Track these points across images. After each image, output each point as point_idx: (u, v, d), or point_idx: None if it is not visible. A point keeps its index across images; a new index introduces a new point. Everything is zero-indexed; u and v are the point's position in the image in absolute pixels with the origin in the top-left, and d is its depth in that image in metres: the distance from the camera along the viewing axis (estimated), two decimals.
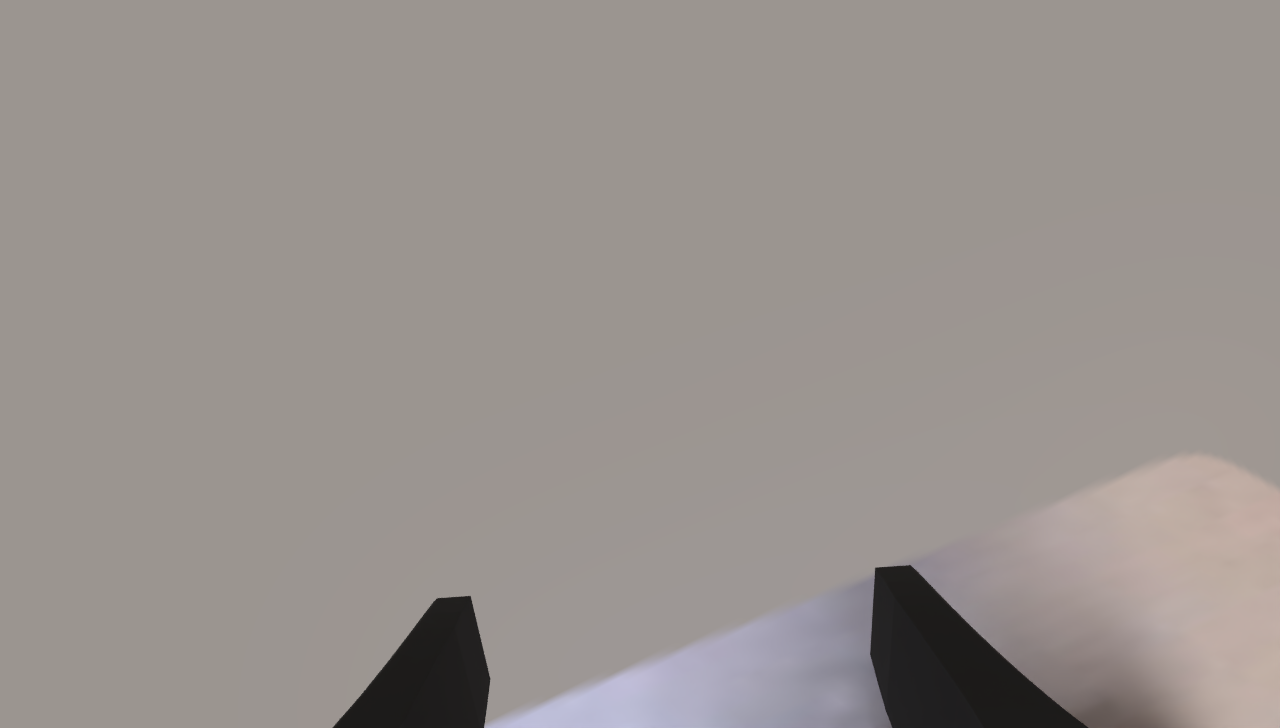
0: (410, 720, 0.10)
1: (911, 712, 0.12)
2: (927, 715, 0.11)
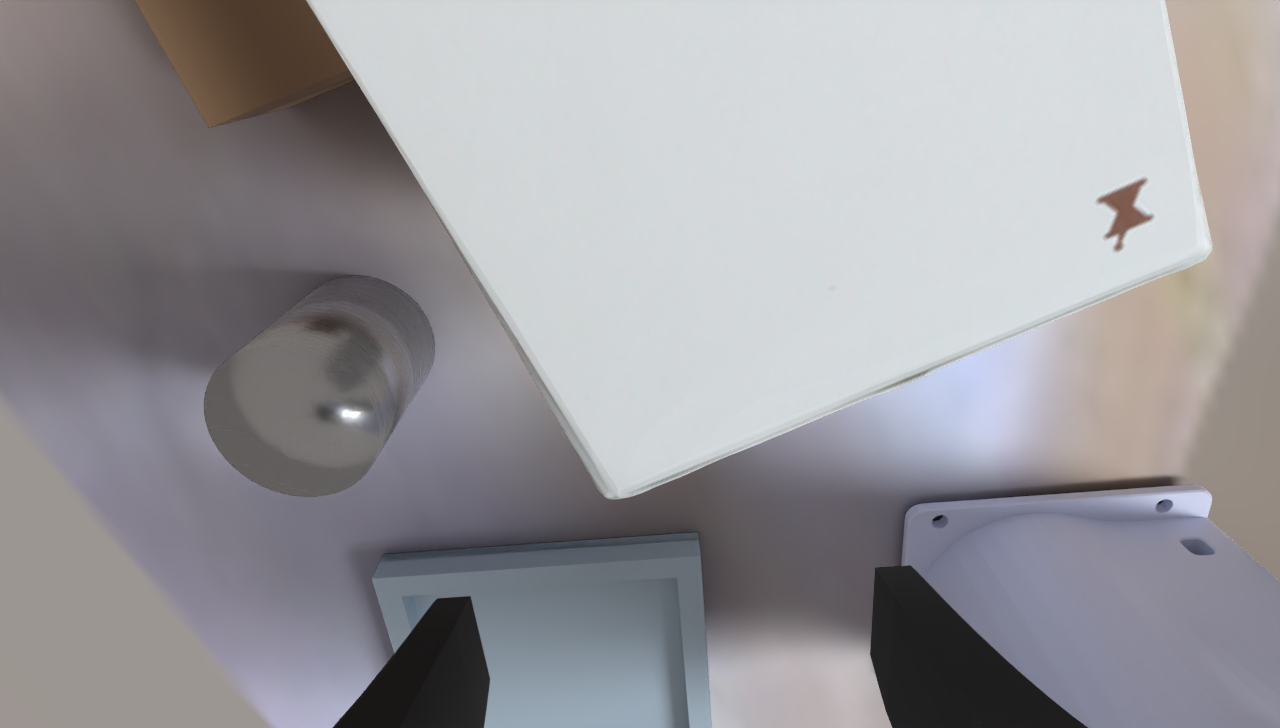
0: (410, 720, 0.10)
1: (911, 712, 0.12)
2: (927, 715, 0.11)
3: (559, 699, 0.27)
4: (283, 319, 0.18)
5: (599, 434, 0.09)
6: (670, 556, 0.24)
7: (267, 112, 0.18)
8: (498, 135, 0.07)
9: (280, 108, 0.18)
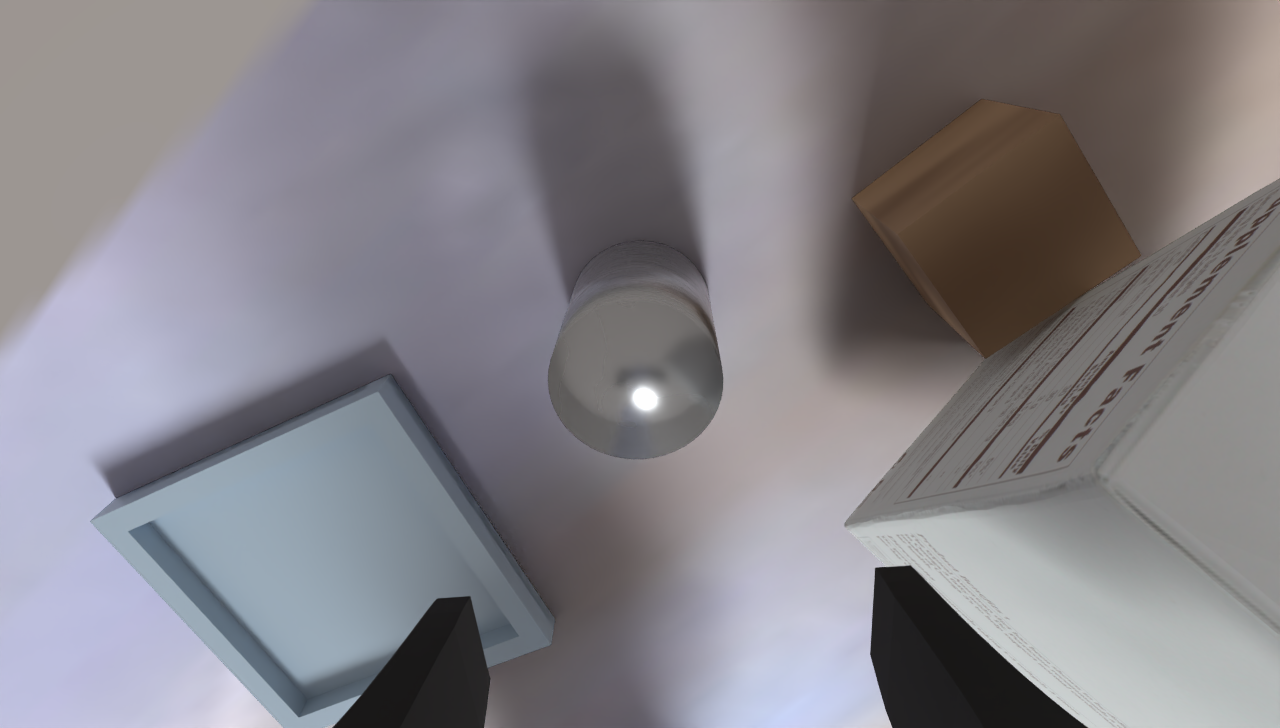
0: (410, 720, 0.10)
1: (911, 712, 0.12)
2: (927, 715, 0.11)
3: (300, 580, 0.25)
4: (698, 302, 0.18)
5: (1172, 438, 0.09)
6: (537, 622, 0.25)
7: (868, 213, 0.19)
8: None
9: (866, 213, 0.19)
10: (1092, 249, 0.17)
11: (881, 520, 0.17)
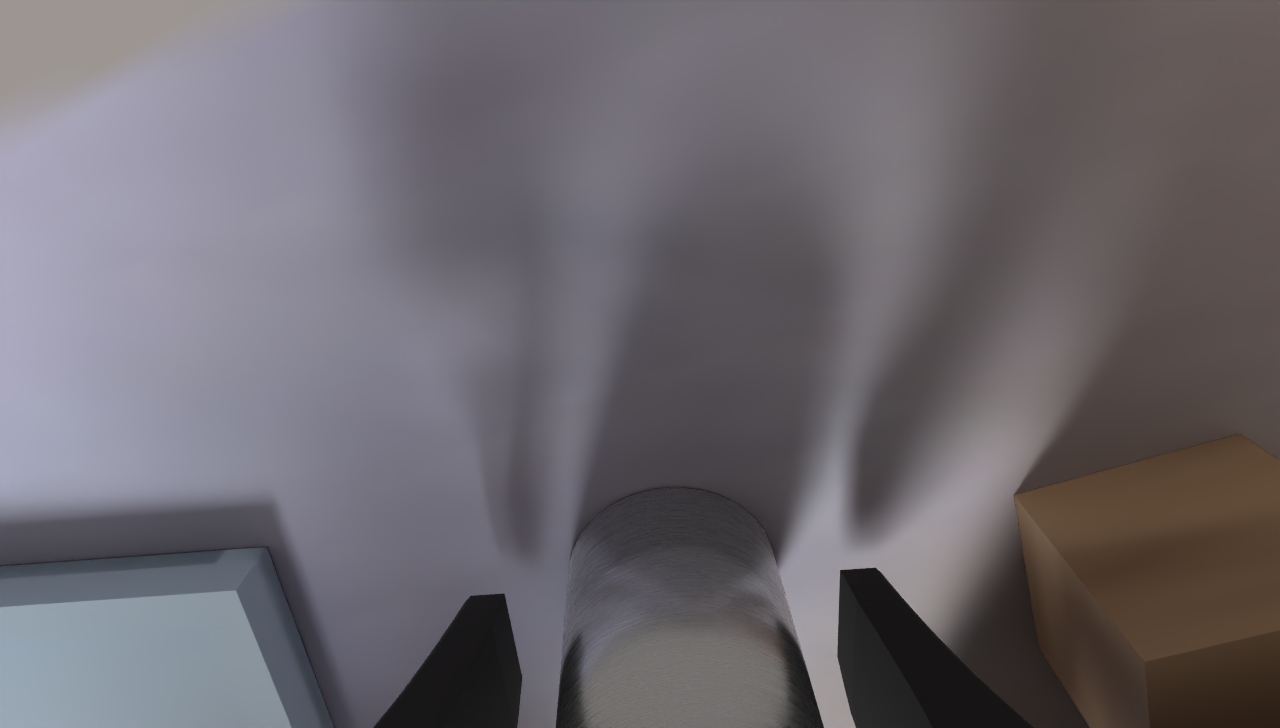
0: (453, 717, 0.10)
1: (872, 714, 0.12)
2: (886, 718, 0.11)
3: None
4: (805, 669, 0.11)
5: None
6: None
7: (1054, 551, 0.13)
8: None
9: (1041, 539, 0.13)
10: None
11: None
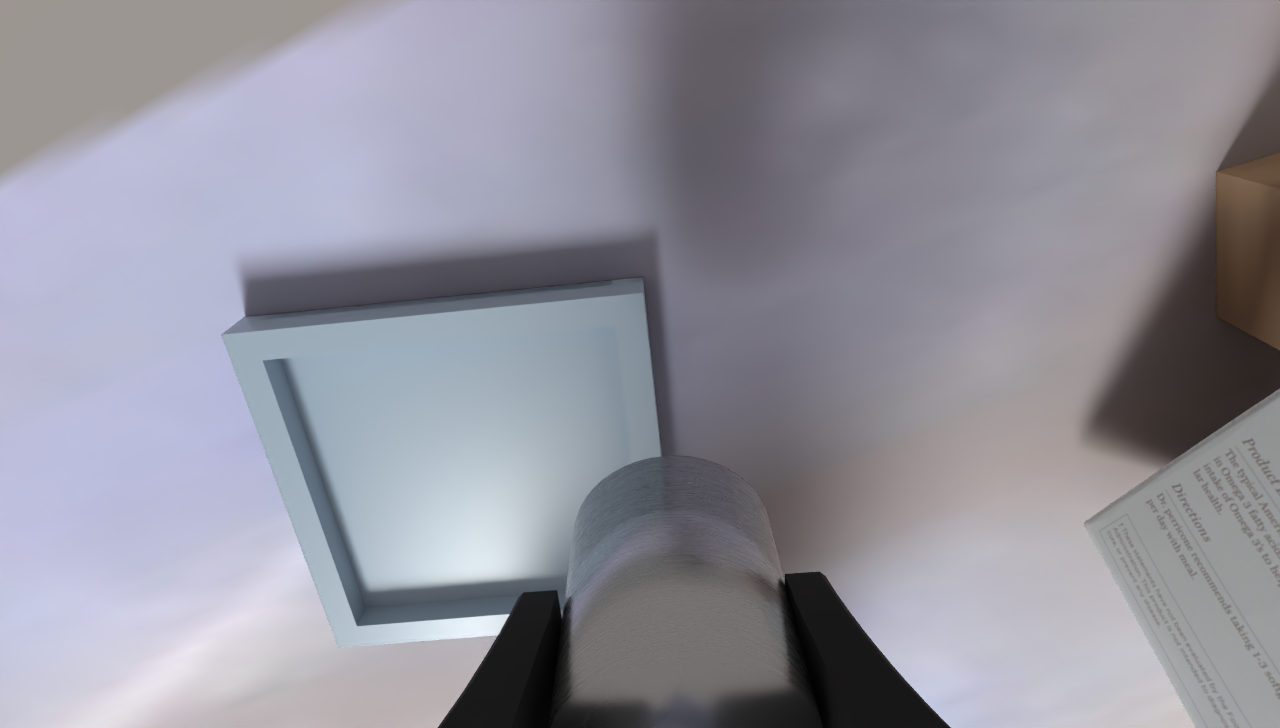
0: (520, 713, 0.10)
1: None
2: None
3: (426, 474, 0.21)
4: None
5: None
6: None
7: (1261, 189, 0.17)
8: None
9: (1246, 189, 0.17)
10: None
11: (1179, 460, 0.18)
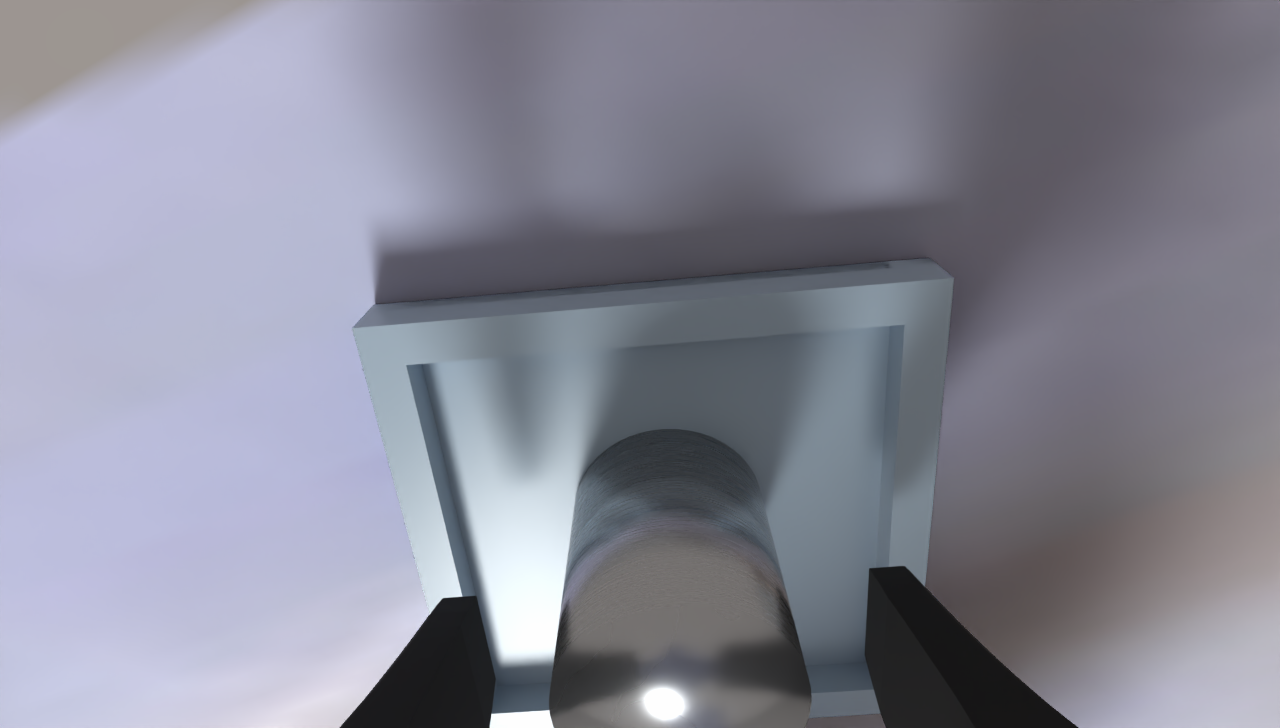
0: (417, 719, 0.10)
1: (904, 712, 0.12)
2: (920, 715, 0.11)
3: None
4: None
5: None
6: None
7: None
8: None
9: None
10: None
11: None
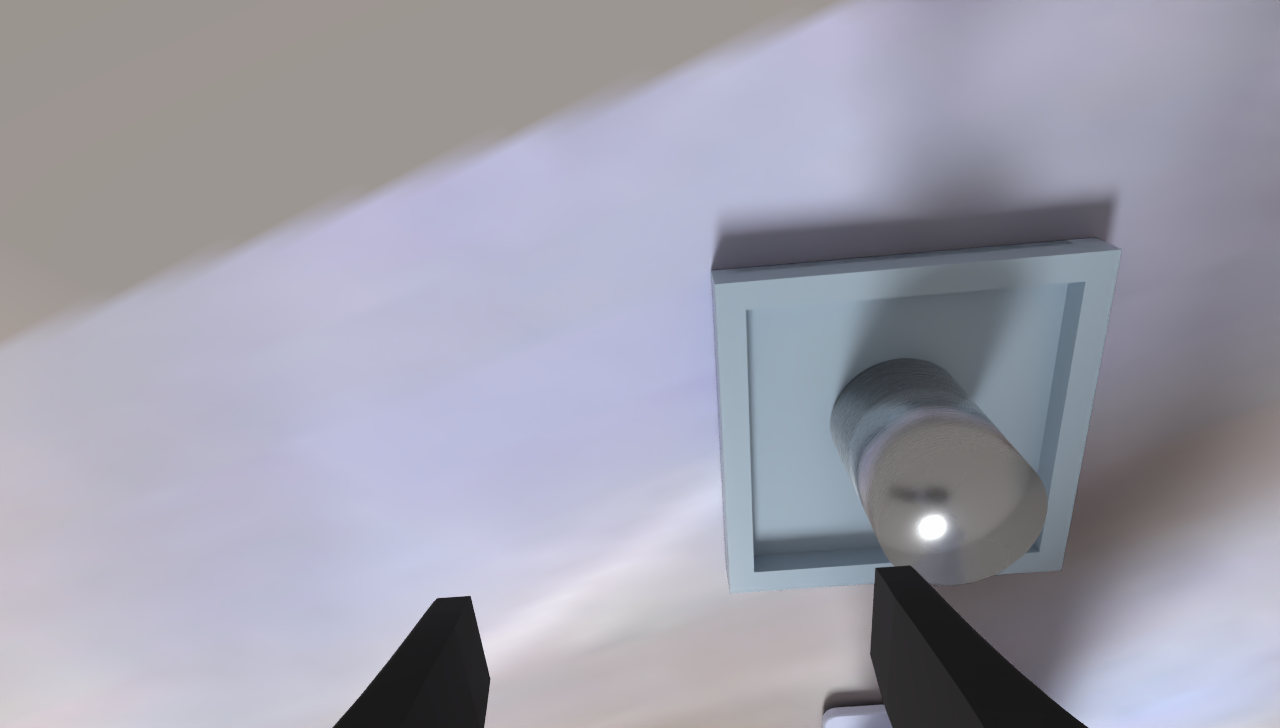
0: (410, 720, 0.10)
1: (911, 712, 0.12)
2: (927, 715, 0.11)
3: None
4: None
5: None
6: None
7: None
8: None
9: None
10: None
11: None
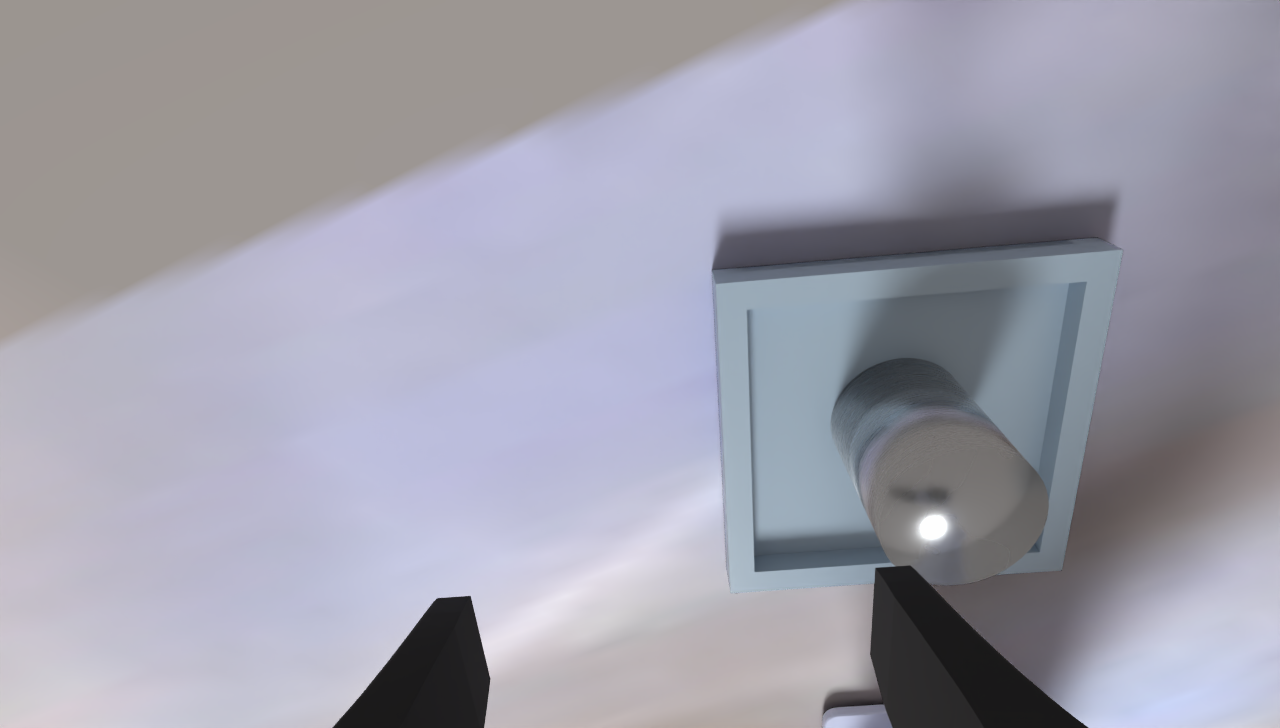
0: (410, 720, 0.10)
1: (911, 712, 0.12)
2: (927, 715, 0.11)
3: None
4: None
5: None
6: None
7: None
8: None
9: None
10: None
11: None
